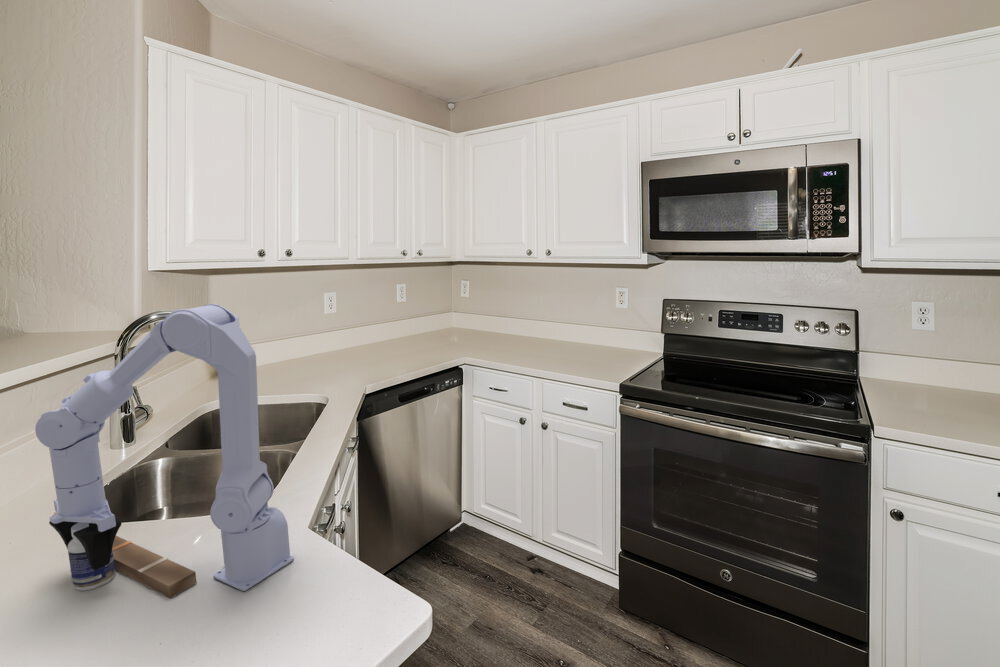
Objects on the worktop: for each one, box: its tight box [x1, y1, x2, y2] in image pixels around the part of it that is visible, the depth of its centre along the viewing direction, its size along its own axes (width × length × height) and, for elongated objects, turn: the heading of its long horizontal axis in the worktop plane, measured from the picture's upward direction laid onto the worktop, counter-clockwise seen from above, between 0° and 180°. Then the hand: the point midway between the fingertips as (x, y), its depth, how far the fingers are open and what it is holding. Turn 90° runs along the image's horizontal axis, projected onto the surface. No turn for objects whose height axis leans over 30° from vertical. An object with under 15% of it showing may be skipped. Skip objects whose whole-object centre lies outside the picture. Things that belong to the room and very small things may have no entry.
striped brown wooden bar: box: [112, 535, 198, 599], centre depth 84 cm, size 4×24×2 cm, turn 62°
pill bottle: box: [67, 522, 116, 591], centre depth 81 cm, size 5×5×10 cm
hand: (90, 561), depth 81 cm, fingers open, 6 cm apart
